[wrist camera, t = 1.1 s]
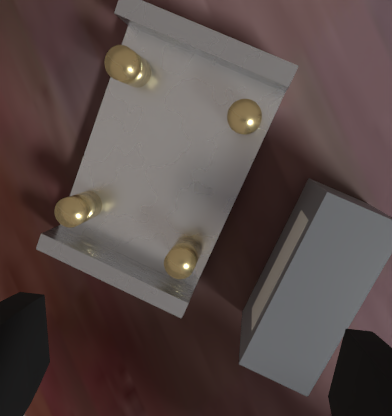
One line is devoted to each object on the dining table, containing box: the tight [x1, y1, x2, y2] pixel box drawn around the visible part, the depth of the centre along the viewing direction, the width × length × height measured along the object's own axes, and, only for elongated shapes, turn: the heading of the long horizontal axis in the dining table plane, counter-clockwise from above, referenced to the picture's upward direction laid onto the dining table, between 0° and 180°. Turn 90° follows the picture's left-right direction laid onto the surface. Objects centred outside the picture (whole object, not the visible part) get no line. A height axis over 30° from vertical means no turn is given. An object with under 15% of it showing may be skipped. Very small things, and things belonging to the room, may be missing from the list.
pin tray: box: [36, 0, 298, 319], centre depth 20 cm, size 9×14×4 cm, turn 157°
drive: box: [239, 178, 392, 397], centre depth 19 cm, size 4×9×6 cm, turn 157°
